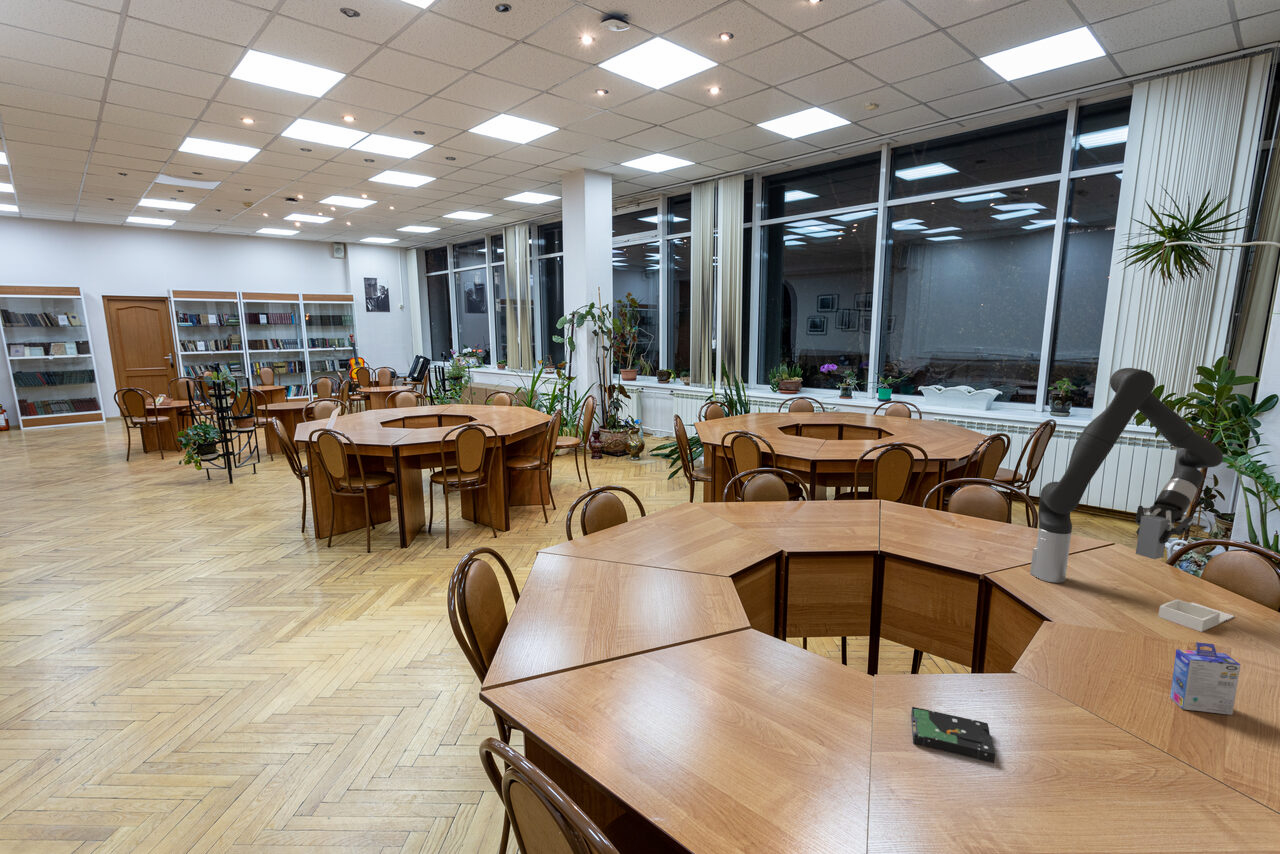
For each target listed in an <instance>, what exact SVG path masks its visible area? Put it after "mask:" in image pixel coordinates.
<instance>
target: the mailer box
mask: <svg viewBox="0 0 1280 854" xmlns="http://www.w3.org/2000/svg"><path fill="white" fill-rule="evenodd" d="M1158 609H1159V610H1158V615H1157V616H1158V618H1161V619H1164V620H1166V621H1170V622H1172V623H1176V624H1178V625H1181V626H1184V627H1186V628H1190V629H1193V630H1194V631H1195V630H1196V631H1198V632H1201V633H1202V632H1205V631H1207V630H1209V629H1212V628H1213V627H1216V626H1218V625H1220V624H1223V623H1225V622H1227V621H1230V620H1231V619H1234V618H1235V615H1232V614H1230V613H1226V612H1223V611H1220V610H1217V609H1214V608H1211V607H1208V606H1205V605H1203V604H1200V603H1199V604H1198V603H1196V602H1193V601H1191V602H1187V601H1184V600H1181V599H1178V598H1176V599H1174V600H1170V601H1169V602H1166V603H1163V604H1161V605H1160V606H1159V608H1158ZM1233 617H1234V618H1233ZM1226 620H1227V621H1226ZM1224 621H1225V622H1224ZM1222 622H1223V623H1222Z"/></svg>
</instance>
